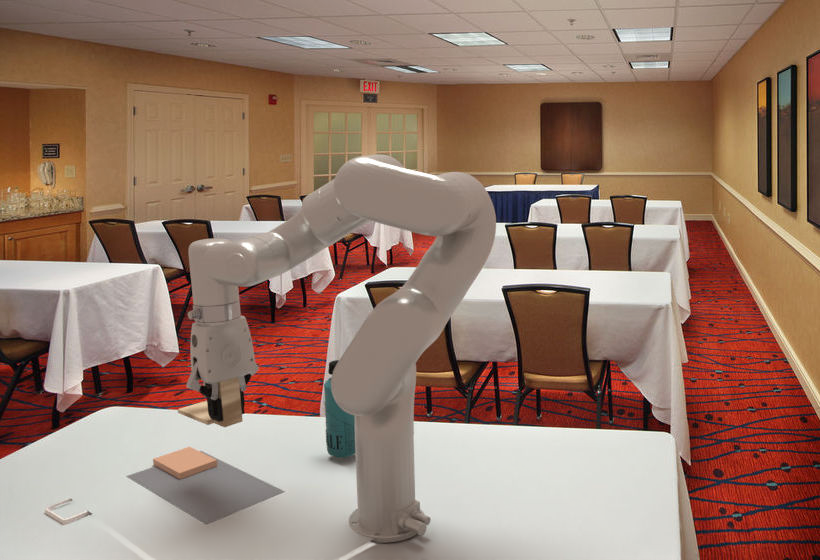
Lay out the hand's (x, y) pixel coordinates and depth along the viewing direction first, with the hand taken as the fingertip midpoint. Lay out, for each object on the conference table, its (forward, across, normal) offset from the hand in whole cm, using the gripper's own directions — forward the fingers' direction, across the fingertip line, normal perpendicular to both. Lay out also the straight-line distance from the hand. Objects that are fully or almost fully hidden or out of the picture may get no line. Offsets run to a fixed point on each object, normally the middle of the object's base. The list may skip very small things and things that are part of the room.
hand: (227, 415), depth 136 cm
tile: (+14, +1, +14) cm, 20 cm away
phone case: (+16, -17, +19) cm, 30 cm away
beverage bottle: (+17, +26, +1) cm, 31 cm away
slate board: (+16, -1, +10) cm, 19 cm away
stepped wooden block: (+1, 0, +5) cm, 5 cm away
